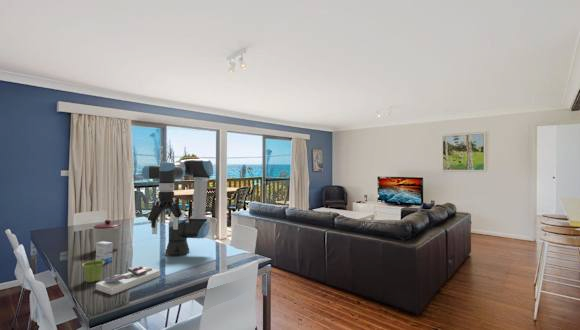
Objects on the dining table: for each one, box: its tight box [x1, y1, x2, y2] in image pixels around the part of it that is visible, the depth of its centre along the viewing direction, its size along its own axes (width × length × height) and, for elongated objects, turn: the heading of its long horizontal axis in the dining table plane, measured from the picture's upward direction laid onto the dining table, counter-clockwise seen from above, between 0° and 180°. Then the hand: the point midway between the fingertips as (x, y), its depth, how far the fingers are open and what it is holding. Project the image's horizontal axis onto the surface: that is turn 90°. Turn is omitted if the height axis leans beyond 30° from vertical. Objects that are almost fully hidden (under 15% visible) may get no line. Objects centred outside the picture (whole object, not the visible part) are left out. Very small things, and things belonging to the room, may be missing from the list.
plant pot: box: [81, 260, 105, 283], centre depth 146 cm, size 9×9×9 cm
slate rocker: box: [103, 273, 125, 283], centre depth 137 cm, size 8×5×3 cm, turn 64°
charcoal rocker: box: [127, 264, 147, 276], centre depth 148 cm, size 8×5×3 cm, turn 64°
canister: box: [91, 219, 123, 251], centre depth 199 cm, size 18×18×21 cm
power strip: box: [95, 266, 161, 296], centre depth 144 cm, size 12×26×3 cm, turn 154°
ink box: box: [95, 241, 114, 264], centre depth 175 cm, size 9×5×12 cm, turn 71°
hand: (165, 231), depth 150 cm, fingers open, 13 cm apart
